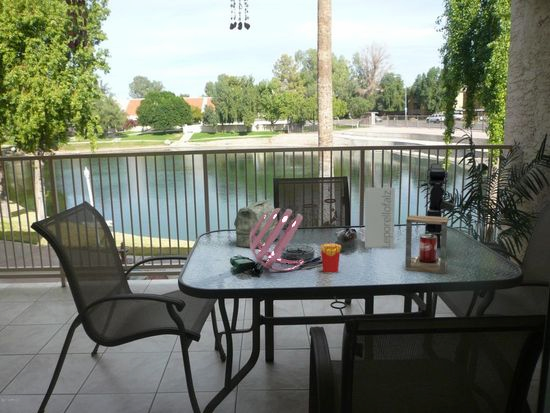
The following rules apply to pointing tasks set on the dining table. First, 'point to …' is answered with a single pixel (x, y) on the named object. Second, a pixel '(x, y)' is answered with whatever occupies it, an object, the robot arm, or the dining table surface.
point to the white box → (379, 217)
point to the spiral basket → (273, 235)
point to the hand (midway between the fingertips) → (435, 227)
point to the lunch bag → (253, 222)
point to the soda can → (428, 249)
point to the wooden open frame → (414, 263)
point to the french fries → (330, 257)
